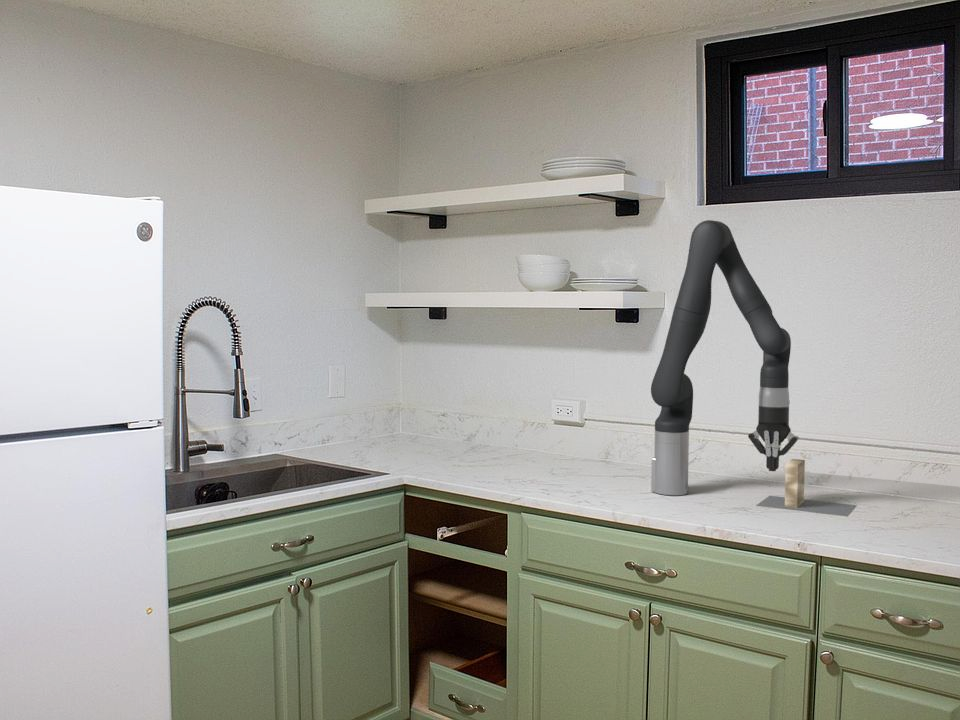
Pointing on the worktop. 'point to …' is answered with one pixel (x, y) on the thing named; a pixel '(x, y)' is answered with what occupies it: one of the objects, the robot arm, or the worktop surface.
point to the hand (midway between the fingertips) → (772, 470)
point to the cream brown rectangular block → (794, 483)
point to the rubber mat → (809, 506)
